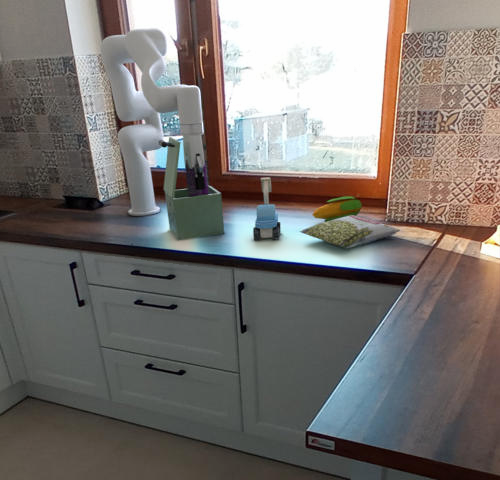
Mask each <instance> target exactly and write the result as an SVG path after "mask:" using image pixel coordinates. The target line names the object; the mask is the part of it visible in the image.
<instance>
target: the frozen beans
mask: <svg viewBox="0 0 500 480" xmlns="http://www.w3.org/2000/svg"><path fill="white" fill-rule="evenodd" d="M400 231H401V229H400V228H395V227H393V226H392V225H391V226H390V225H388V224H384V223H381V222H378V221H375V220H371V219H368V218H366V217H362V216H358V215H356V216H354V215H351V216H346V217H342V218H338V219H335V220H331V221H328V222H324V221H323V222H320V223H317V224H314V225H311V226H309V227H308V228H305V229H302V230H300V231H298V232H299V233H302V234H304V235H307V236H309V237H312V238H316V239H317V240H321V241H323V242H327V243H329V244H333V245H335V246H338V247H340V248H345V249H346V250H347V249H351V248H354V247H358V246H361V245H362V246H363V245H365V244H369V243H372V242H375V241H378V240H381V239H385V238H388V237H391V236H393V235H396V234H397V233H399V232H400Z"/></svg>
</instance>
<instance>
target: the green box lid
mask: <svg viewBox="0 0 500 480" xmlns="http://www.w3.org/2000/svg"><path fill="white" fill-rule="evenodd" d="M158 143H159V145H160V146H162V147H161V148H163V149H165V148H167V151H166V152H167V153H166V163H165V171H164V181H163V191H164V193H165V192H166V193H167V194H168V195H170V196H171V197H172V198H174V196H175V190H176V187H177V186H176V185H177V176H178V170H179V169H178V168H179V159H180V153H181V152H180V150H181V143H182V142H181V141H179V140H178V139H175V138H173V137H172V136H169V137H168V142H167V141H165V140H164V141H163V140H159V142H158Z"/></svg>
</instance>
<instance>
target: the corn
mask: <svg viewBox="0 0 500 480" xmlns="http://www.w3.org/2000/svg"><path fill="white" fill-rule="evenodd" d="M325 202H326V203H327V204H324V205H322V206H319V207H318V208H316V209H315V210H314V211H313V212H312V214H311V215H312V217H314V218H315V219H319V220H320V219H321V220H324V221H323V223H324V222H328V221H331V220H335V219H338V218H342V217H346V216H351V215H354V216H358V215H359V214H360V212H361V209H362V207H363V206H362V202H361V201H360V200H359V199H357V198H356V197H354V196H340V197H337V198H332V199H329V200H327V201H325Z"/></svg>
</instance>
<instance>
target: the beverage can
mask: <svg viewBox="0 0 500 480" xmlns="http://www.w3.org/2000/svg"><path fill="white" fill-rule="evenodd" d="M187 162H188V161H187V160H186V164H185V163H184V169H185V171H184V172H185V179H186V187H187V188H186V189H188V196H189V197H192V196H200V195H208V194H209V189H208V186H209V179H208V169H207V163H206V161H205V160H204V167H203V173H204V181H205V189H201V190H196V189H195V179H194V177H195V173H194V167H192V169H190V168H189V166H188V163H187ZM202 165H203V163H202ZM195 167H198V164H196V165H195ZM196 171H197V169H196Z"/></svg>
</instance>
